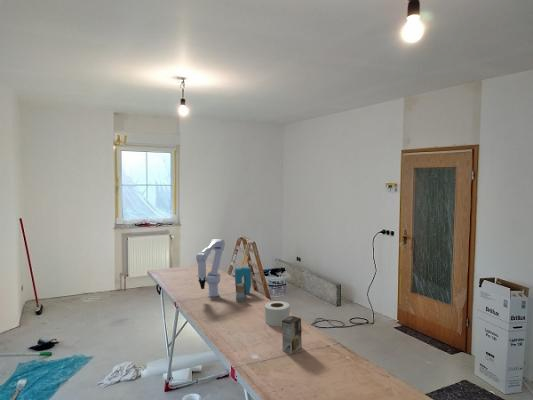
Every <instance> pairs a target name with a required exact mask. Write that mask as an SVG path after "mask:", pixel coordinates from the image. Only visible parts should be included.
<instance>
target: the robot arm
mask: <svg viewBox="0 0 533 400" xmlns="http://www.w3.org/2000/svg"><path fill="white" fill-rule="evenodd" d="M225 245H226V242H225V240H224V239H222V238H219V239H217V238H216V239H215V238H212V239H211V240H210V243H209V245H208V246H207V247H205V248H203V250H202V251H200V252H198V253H197V254H196V258H195V260H196V263H197V271H198V272H197V273H198V274H197V275H196V277H197V278H198V282H199V285H200V290H205V286H206V284H207V285H208V293H207V295H208V298H213V297H215V298H216V297H219V295H220V293H219V283H220V282H221V273H219V268H220V265H221V259H222V254H223V251H224V249H225ZM212 250H213V251H215V253H214V257H213V260H212V261H213V262H212V267H211V271H208V273H207V264H206V263H207V261H208V257H209V256H210V255H211V253H212Z"/></svg>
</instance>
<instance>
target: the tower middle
mask: <svg viewBox="0 0 533 400" xmlns="http://www.w3.org/2000/svg"><path fill="white" fill-rule="evenodd" d="M236 297H244V298H245V293H244V292H240V293H238V292H236V291H235V298H236Z"/></svg>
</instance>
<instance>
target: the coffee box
mask: <svg viewBox="0 0 533 400" xmlns="http://www.w3.org/2000/svg"><path fill="white" fill-rule="evenodd" d="M281 333H282V351H283V352H287V353H289V354H294V353H296V352H298V351H299V350H300V349H302V347H303V346H302V343H303V341H302V339H303V338H302V318H300V317H298V316H294V315H291V316H290V317H288V318H286V319H285V320H283V321H282V326H281Z"/></svg>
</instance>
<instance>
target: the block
mask: <svg viewBox="0 0 533 400" xmlns="http://www.w3.org/2000/svg"><path fill="white" fill-rule="evenodd" d="M251 270H252V267H250V266H245V267H237V268H234V281H235V282H234V284H235V287H236V284H243V285H244V288H245V292H244V295H248V294H250V292H251V291H250V290H251V289H252V288H251V286H252V271H251ZM243 281H244V282H243Z"/></svg>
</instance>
